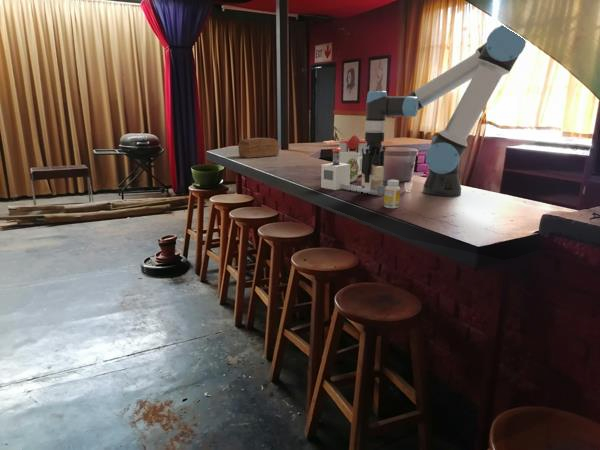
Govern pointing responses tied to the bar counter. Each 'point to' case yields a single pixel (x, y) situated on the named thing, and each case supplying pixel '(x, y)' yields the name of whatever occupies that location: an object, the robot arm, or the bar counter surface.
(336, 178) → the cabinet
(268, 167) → the bar counter surface
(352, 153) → the pitcher
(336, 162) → the gauge button
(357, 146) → the citrus juicer
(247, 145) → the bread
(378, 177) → the carriage
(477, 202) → the bar counter surface
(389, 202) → the supplement bottle
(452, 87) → the robot arm
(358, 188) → the rail
